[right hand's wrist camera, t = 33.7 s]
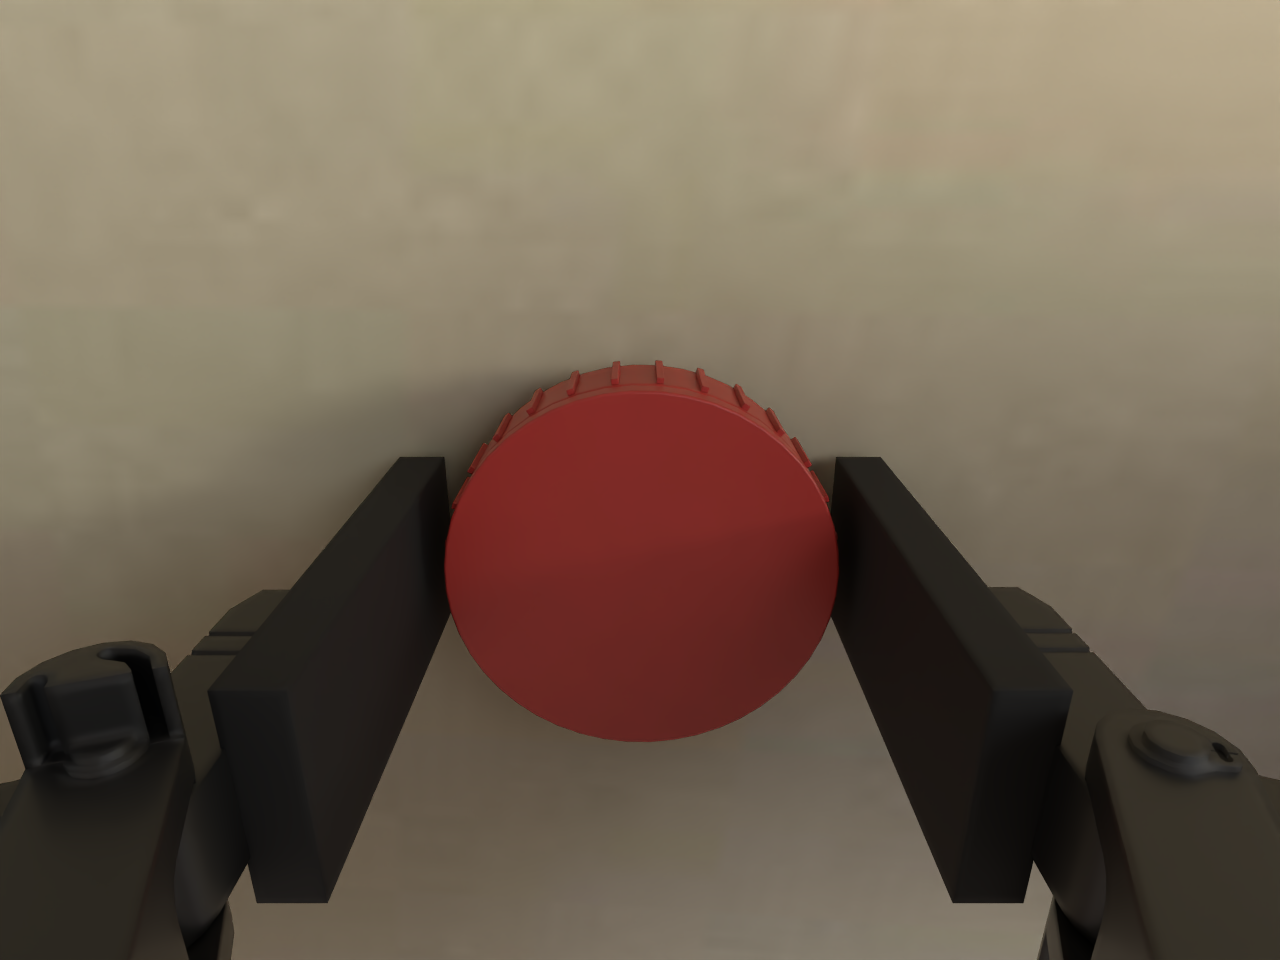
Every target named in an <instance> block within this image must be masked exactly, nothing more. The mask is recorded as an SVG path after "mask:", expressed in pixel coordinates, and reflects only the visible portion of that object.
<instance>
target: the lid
mask: <svg viewBox="0 0 1280 960" xmlns="http://www.w3.org/2000/svg"><path fill="white" fill-rule="evenodd" d="M810 466H812V464H811V462H810V461H809V459H808V457H807V455H806V454H805V452H804V450H803V448H802V447H801V445H800V443H799V442H798V440H797V439H796V437H794V438H792V439H790V438H789V436H788V435H787V434H786V432H785V431H784V429H783V428H782V426H781V424H780V422H779V421H778V419H777V417H776V415H775V413H774V411H773V410H772V409H770V408H768V409H767V410H766V411H765V410H764V409H763V408H761V407H760V406H759V405H758V404H756V403H755V402H754V401H753V400H751V399H750V398H749V397H747V396H745V394H744V392H743V390H742V387H741V386H739V385H737V384H736V385H735V386H734V388H732V387H730V386H729V385H726V384H724V383H722V382H719V381H717V380H715V379H713V378H710V377H708V376H705V373H704V370H703V369H700V368H697V370H696V373H695V372H691V371H688V370H684V369H679V368H672V367H666V366H663V363H662V361H657V360H656V361H655V365H627V366H620V361H617V362H613V366H612V367H609V368H604V369H600V370H596V371H592V372H588V373H584V374H581V375H580V374H579V371H578V370H577V371H574V372H572V374H571V377H570V379H568V380H566V381H563V382H560V383H559V384H557V385H555V386H553V387H551V388H550V389H548V390H546V391H544V392H543V391H542V389H541V388H539V389H537V390H536V391H535V392H534V395H533V397H532V399H531V401H529V402H528V403H527V404H525V405H524V406H523V407H521V408H520V409H519V410H518V411H517V412H516V413H515V414H514V415H513V416H512V415H511V414H510V413H507V414H506V415H505V416H504V418H503V420H502V422H501V423H500V425H499V427H498V429H497V431H496V433H495V435H494V436H493V439H492V440H491V442H490V443H489V445H487V444H485V443H483V445H482V446H481V448H480V450H479V451H478V453H477V455H476V457H475V458H474V460H473V462H472V464H471V466H470V467H469V469H468V471H467V472H469V473H470V474H472V475H471V477H467V478H466V480H465V482H464V484H463V485H462V487H461V489H460V491H459V493H458V495H457V496H456V498H455V500H454V502H453V504H452V507H451V508H452V509H455V510H454V513H453V515H452V518H451V521H450V525H449V530H448V534H447V539H446V540H445V557H444V575H445V588H446V593H447V598H448V602H449V607H450V611H451V614H452V616H453V619H454V622H455V624H456V627H457V630H458V632H459V634H460V636H461V638H462V640H463V642H464V644H465V645H466V647H467V649H468V651H469V653H470V654H471V656H472V657H473V658H474V660H475V661H476V662H477V664H478V665H479V666H480V668H481V669H482V670H483V672H484V673H485V674H486V675H487V676H488V677H489V678H490V679H491V680H492V681H493V682H494V683H495V684H496V685H497V686H498V687H499V689H501V690H502V691H503V692H504V693H506V694H507V695H508V696H509V697H511V698H512V699H513V700H514V701H515V702H517V703H518V704H520V705H521V706H523V707H524V708H526V709H528V710H529V711H531V712H532V713H534V714H535V715H537V716H539V717H541V718H543V719H545V720H547V721H549V722H552V723H554V724H556V725H558V726H561V727H563V728H566V729H569V730H572V731H575V732H578V733H581V734H585V735H589V736H594V737H598V738H602V739H610V740H618V741H626V742H654V741H665V740H674V739H679V738H684V737H689V736H694V735H698V734H701V733H705V732H708V731H711V730H714V729H717V728H720V727H722V726H724V725H727V724H729V723H731V722H733V721H736V720H738V719H740V718H742V717H744V716H745V715H747V714H749V713H750V712H752V711H754V710H755V709H757V708H759V707H760V706H762V705H763V704H764V703H766V702H767V701H768V700H770V699H771V698H772V697H774V696H775V695H776V694H778V693H779V692H780V691H781V690H782V689H783V688H784V687H785V686H786V685H787V684H788V683H789V682H790V681H791V680H792V679H793V678H794V677H795V676H796V675H797V674H798V672H799V671H800V670H801V669H802V667H803V666H804V665H805V664H806V662H807V661H808V660H809V659H810V657H811V655H812V654H813V652H814V650H815V649H816V647H817V645H818V644H819V642H820V640H821V638H822V636H823V634H824V631H825V629H826V627H827V625H828V622H829V620H830V617H831V614H832V610H833V606H834V603H835V599H836V595H837V587H838V578H839V550H838V544H837V539H838V537H837V533H836V531H835V527H834V524H833V521H832V518H831V515H830V512H829V509H828V506H827V502H829V498H828V495H827V494H826V492H825V490H824V488H823V487H822V485H821V483H820V481H819V480H818V478H817V476H816V474H815V473H814V471H813V470H812V471H809V469H808V467H810Z"/></svg>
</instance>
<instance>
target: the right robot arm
mask: <svg viewBox="0 0 1280 960" xmlns="http://www.w3.org/2000/svg"><path fill="white" fill-rule="evenodd" d="M831 518H832V521H833V524H834V527H835V531H836V533H837V537H838V539H837V544H838V550H839V578H838V587H837V595H836V599H835V603H834V606H833V610H832V614H831V617H832V620H833V622H834V624H835V627H836V629H837V631H838V634H839V636H840V638H841V641H842V643H843V645H844V648H845V650H846V653H847V655H848V657H849V660H850V662H851V664H852V667H853V669H854V671H855V674H856V676H857V678H858V681H859V683H860V686H861V688H862V690H863V693H864V695H865V697H866V700H867V702H868V704H869V707H870V709H871V711H872V714H873V716H874V719H875V721H876V723H877V726H878V728H879V730H880V733H881V735H882V737H883V740H884V742H885V744H886V747H887V749H888V751H889V754H890V756H891V759H892V761H893V763H894V766H895V768H896V770H897V773H898V775H899V777H900V780H901V782H902V784H903V787H904V789H905V792H906V794H907V796H908V799H909V801H910V803H911V806H912V808H913V810H914V813H915V815H916V817H917V820H918V822H919V825H920V827H921V829H922V832H923V834H924V836H925V839H926V841H927V843H928V846H929V848H930V850H931V853H932V855H933V858H934V860H935V862H936V865H937V867H938V869H939V872H940V874H941V876H942V879H943V881H944V883H945V886H946V888H947V891H948V893H949V895H950V898H951V900H952V902H953V903H1024V899H1025V894H1026V890H1027V886H1028V882H1029V877H1030V873H1031V869H1032V865H1033V860H1034V862H1035V864H1036V866H1037V867H1038V869H1039V871H1040V873H1041V874H1042V876H1043V878H1044V880H1045V881H1046V883H1047V885H1048V887H1049V889H1050V890H1051V892H1052V894H1053V898H1052V902H1051V906H1050V910H1049V914H1048V918H1047V922H1046V926H1045V930H1044V934H1043V938H1042V942H1041V946H1040V950H1039V954H1038V958H1037V960H1280V780H1276V779H1271V778H1267V777H1263V776H1259V775H1258V774H1257V772H1256V770H1255V768H1254V767H1253V766H1252V764H1251V763H1250V762H1249V761H1248V759H1247V758H1246V757H1245V756H1244V754H1243V753H1242V752H1241V751H1240V750H1239V749H1238V748H1237V747H1235V746H1234V745H1232V744H1231V743H1230V742H1228V741H1227V740H1225V739H1224V738H1223V737H1221V736H1220V735H1218V734H1217V733H1216V732H1214V731H1211V730H1209V729H1207V728H1205V727H1203V726H1201V725H1198V724H1196V723H1194V722H1192V721H1190V720H1188V719H1185V718H1181V717H1178V716H1174V715H1170V714H1167V713H1163V712H1160V711H1154V710H1147V709H1146V708H1145V707H1144V706H1143V705H1142V704H1141V703H1140V702H1139V700H1138V699H1137V698H1136V697H1135V696H1134V695H1133V694H1132V693H1131V692H1130V691H1129V690H1128V689H1127V688H1126V687H1125V685H1124V684H1123V683H1122V682H1121V681H1120V680H1119V679H1118V678H1117V677H1116V676H1115V675H1114V674H1113V673H1112V672H1111V670H1110V669H1109V668H1108V667H1107V666H1106V665H1105V664H1104V663H1103V662H1102V661H1101V660H1100V659H1099V658H1098V657H1097V655H1096V654H1095V653H1090V651H1089V647H1088V646H1087V645H1086V644H1085V643H1084V642H1083V640H1082V639H1081V638H1080V637H1079V636H1078V635H1077V634H1076V633H1072V629H1071V628H1070V626H1069V625H1068V624H1067V623H1066V622H1065V621H1064V620H1063V619H1062V618H1061V617H1060V616H1059V615H1058V614H1057V613H1056V611H1055V610H1054V609H1053V608H1052V607H1051V606H1049V605H1047V604H1046V603H1044V602H1042V601H1041V600H1039V599H1037V598H1035V597H1034V596H1032V595H1030V594H1029V593H1027V592H1025V591H1023V590H1022V589H1020V588H1018V587H987V585H986V584H985V583H984V582H983V581H982V579H981V578H980V577H979V576H978V575H977V573H976V572H975V571H974V570H973V569H972V567H971V566H970V565H969V564H968V562H967V561H966V560H965V559H964V558H963V556H962V555H961V554H960V553H959V552H958V550H957V549H956V548H955V547H954V546H953V544H952V543H951V542H950V541H949V539H948V538H947V537H946V536H945V535H944V533H943V532H942V531H941V530H940V529H939V527H938V526H937V525H936V524H935V523H934V521H933V520H932V519H931V518H930V516H929V515H928V514H927V513H926V512H925V510H924V509H923V508H922V507H921V506H920V504H919V503H918V502H917V501H916V500H915V498H914V497H913V496H912V495H911V493H910V492H909V491H908V490H907V489H906V487H905V486H904V485H903V484H902V483H901V481H900V480H899V479H898V478H897V477H896V475H895V474H894V473H893V472H892V470H891V469H890V468H889V467H888V466H887V464H886V463H885V462H884V461H883V460H882V458H881V457H836V464H835V475H834V485H833V496H832V507H831ZM449 525H450V513H449V503H448V492H447V481H446V471H445V460H444V457H400V458H399V459H398V460H397V461H396V462H395V464H394V465H393V466H392V467H391V469H390V470H389V471H388V472H387V473H386V475H385V476H384V477H383V478H382V479H381V481H380V482H379V483H378V484H377V485H376V487H375V488H374V489H373V490H372V492H371V493H370V494H369V495H368V496H367V498H366V499H365V500H364V501H363V502H362V504H361V505H360V506H359V507H358V508H357V510H356V511H355V512H354V513H353V515H352V516H351V517H350V518H349V519H348V521H347V522H346V523H345V524H344V525H343V527H342V528H341V529H340V530H339V531H338V533H337V534H336V535H335V536H334V538H333V539H332V540H331V541H330V542H329V544H328V545H327V546H326V547H325V548H324V550H323V551H322V552H321V553H320V554H319V556H318V557H317V558H316V559H315V561H314V562H313V563H312V564H311V565H310V567H309V568H308V569H307V570H306V571H305V573H304V574H303V575H302V576H301V577H300V579H299V580H298V581H297V582H296V584H295V585H294V586H293V587H292V588H291V590H262V591H260V592H259V593H257V594H255V595H253V596H252V597H250V598H248V599H247V600H245V601H243V602H242V603H240V604H238V605H236V606H235V607H233V608H231V609H230V610H229V611H228V612H227V613H226V614H225V615H224V616H223V617H222V619H221V620H220V621H219V622H218V623H217V624H216V625H215V626H214V627H213V628H212V629H211V630H210V632H209V636H205V637H204V638H203V639H202V640H201V641H200V642H199V643H198V645H197V646H196V647H195V648H194V649H193V650H192V655H187V656H186V657H185V659H184V660H183V661H182V662H181V663H180V664H179V665H178V666H177V667H176V668H175V669H174V670H173V672H172V673H170V669H169V665H168V661H167V657H166V653H165V652H163V651H162V650H160V649H159V648H158V647H156V646H155V645H153V644H148V643H142V642H136V641H122V642H108V643H101V644H97V645H93V646H88V647H84V648H80V649H76V650H72V651H70V652H67V653H65V654H62V655H60V656H57V657H55V658H52V659H50V660H47V661H45V662H42V663H40V664H39V665H37V666H36V667H34V668H32V669H31V670H29V671H27V672H26V673H24V674H22V675H21V676H19V677H17V678H16V679H15V680H14V681H13V682H12V683H11V684H10V685H9V686H8V687H7V688H6V689H5V690H4V691H3V692H2V693H1V694H0V697H1V700H2V703H3V706H4V709H5V711H6V714H7V717H8V720H9V723H10V726H11V729H12V731H13V734H14V737H15V740H16V743H17V746H18V749H19V752H20V754H21V757H22V760H23V763H24V766H25V771H24V773H23V775H22V777H21V779H20V780H16V781H12V782H7V783H2V784H0V960H231V954H232V946H233V938H234V928H233V921H232V914H231V910H230V906H229V902H228V897H229V895H230V894H231V892H232V890H233V888H234V887H235V885H236V883H237V881H238V879H239V878H240V876H241V874H242V872H243V871H244V869H245V867H246V865H247V863H248V867H249V871H250V875H251V880H252V884H253V888H254V892H255V897H256V901H257V903H328V901H329V899H330V896H331V894H332V891H333V889H334V887H335V884H336V882H337V880H338V877H339V875H340V873H341V870H342V868H343V866H344V863H345V861H346V858H347V856H348V854H349V851H350V849H351V847H352V844H353V842H354V840H355V837H356V835H357V833H358V830H359V828H360V825H361V823H362V821H363V818H364V816H365V814H366V811H367V809H368V807H369V804H370V802H371V800H372V797H373V795H374V792H375V790H376V788H377V785H378V783H379V781H380V778H381V776H382V774H383V771H384V769H385V767H386V764H387V762H388V759H389V757H390V755H391V752H392V750H393V748H394V745H395V743H396V741H397V738H398V736H399V734H400V731H401V729H402V726H403V724H404V722H405V719H406V717H407V715H408V712H409V710H410V708H411V705H412V703H413V701H414V698H415V696H416V693H417V691H418V689H419V686H420V684H421V682H422V679H423V677H424V675H425V672H426V670H427V668H428V665H429V663H430V660H431V658H432V656H433V653H434V651H435V649H436V646H437V644H438V642H439V639H440V637H441V635H442V632H443V630H444V627H445V625H446V623H447V620H448V618H449V616H450V613H451V611H450V607H449V602H448V598H447V593H446V588H445V575H444V557H445V540H446V539H447V534H448V530H449Z"/></svg>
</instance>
